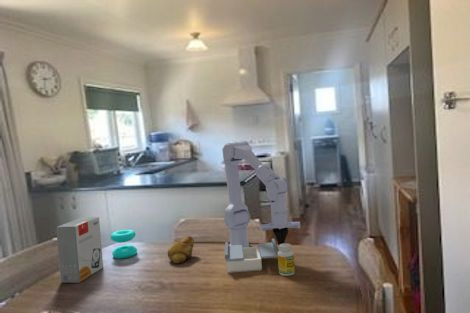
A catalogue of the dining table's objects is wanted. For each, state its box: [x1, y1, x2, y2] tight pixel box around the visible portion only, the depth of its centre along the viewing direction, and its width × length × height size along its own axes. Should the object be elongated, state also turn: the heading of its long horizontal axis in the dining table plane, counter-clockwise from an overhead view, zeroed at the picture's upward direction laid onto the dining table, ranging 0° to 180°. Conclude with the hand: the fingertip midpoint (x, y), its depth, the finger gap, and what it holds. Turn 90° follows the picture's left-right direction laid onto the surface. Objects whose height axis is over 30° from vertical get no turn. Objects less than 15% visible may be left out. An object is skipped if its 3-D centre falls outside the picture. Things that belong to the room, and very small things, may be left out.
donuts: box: [110, 229, 138, 260], centre depth 155 cm, size 10×10×10 cm
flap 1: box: [224, 241, 243, 262], centre depth 135 cm, size 15×6×2 cm, turn 1°
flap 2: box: [257, 238, 280, 259], centre depth 135 cm, size 15×6×2 cm, turn 1°
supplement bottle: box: [277, 242, 296, 277], centre depth 124 cm, size 5×5×10 cm
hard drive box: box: [55, 216, 104, 284], centre depth 136 cm, size 16×8×20 cm, turn 168°
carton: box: [225, 245, 263, 274], centre depth 135 cm, size 14×12×4 cm
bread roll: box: [166, 235, 195, 264], centre depth 145 cm, size 13×10×8 cm
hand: (281, 248), depth 135 cm, fingers closed
